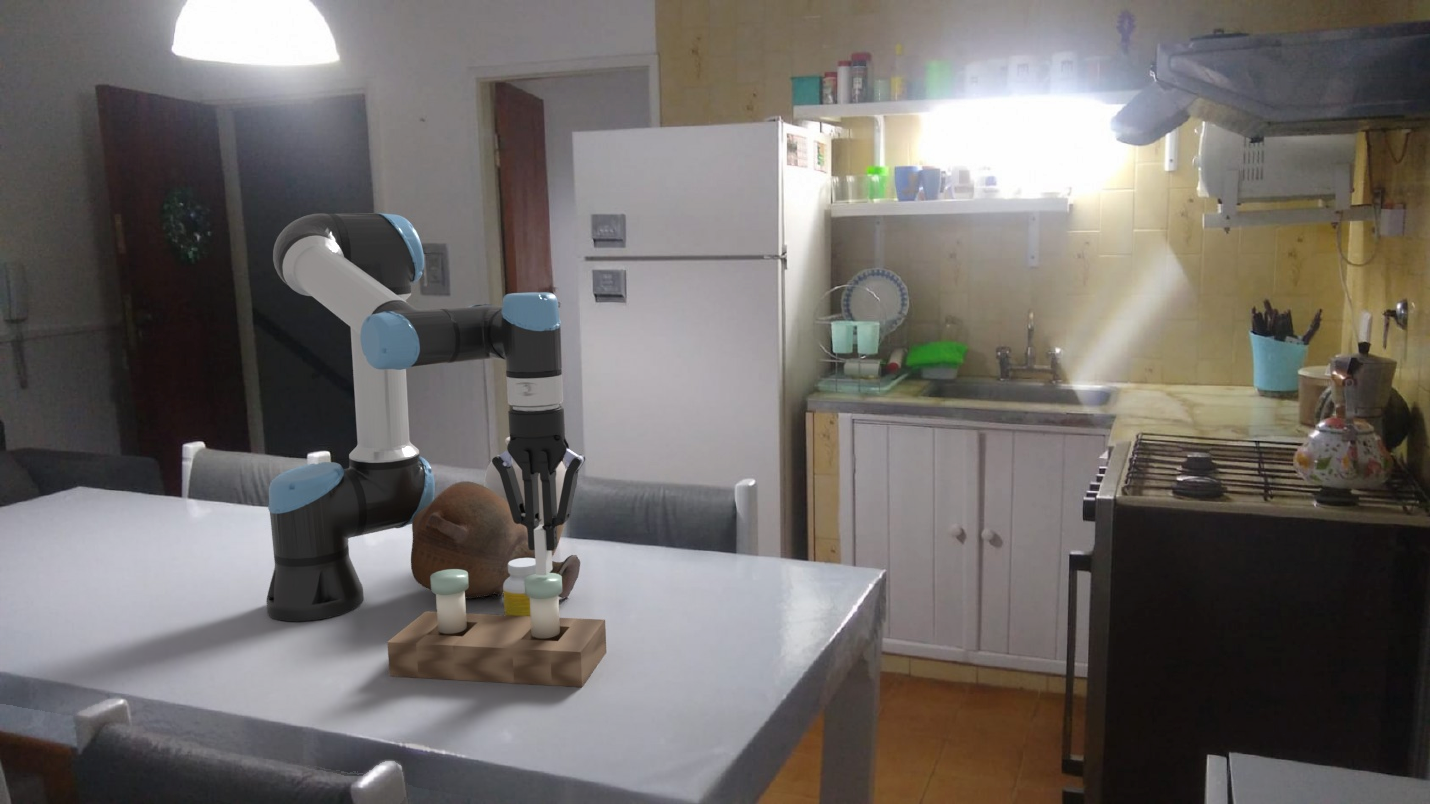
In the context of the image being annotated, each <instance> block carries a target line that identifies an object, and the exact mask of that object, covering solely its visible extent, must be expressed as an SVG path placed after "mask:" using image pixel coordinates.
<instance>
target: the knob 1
mask: <svg viewBox="0 0 1430 804" xmlns="http://www.w3.org/2000/svg"><path fill="white" fill-rule="evenodd" d="M430 579H431V590H430V591H431V592H432V594H435V601H436V602H435V603H436V612H437V620H438V631H439V632H441V633H445V634H452V633H458V632H461V631H464V630H465V629H466V628H467V622H466V613H467V610H466V598H465V590H467V589H468V588H469V583H468V572H467V571H465V570H460V569H449V570H442V571H438V572H435V573H433V574H432V575H431V576H430Z"/></svg>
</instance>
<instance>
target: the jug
mask: <svg viewBox="0 0 1430 804" xmlns="http://www.w3.org/2000/svg"><path fill="white" fill-rule="evenodd" d="M411 531H412V542H411V543H412V544H411V552H410V553H411V554H410V567H411V573H412V577H413V578H414V580H415V581H416V583H418V584H419V586H422V587H423V588H425V589H427V590H429V591H431V579H430V576H431V575H432V574H433V573H435V572H438V571H442V570H449V569H460V570H465V571H467V572H468V583H469V588H468V589H467V590H465V599H474V598H482V597H486V596H487V597H488V596H492V595H497V596H499V597H500V596H502V595H504V593H503V584H504V582H505V580H506V579H507V578H509V577H510V574H509V573H508V563H509V562H510V561H512V560H514V559H519V558H534V559H535V551H534V550H530V549H529V547H528V533H527V529H526V526H524V525H522V524H516V523H514V521H513V518H512V514H511V511H510V507H509V504H508V502H507V501H506V500H504V499H503V498H502V497H500V496H499V495H498V494H496V493H495V492H493V491H492V490H490V489H488V488H486V487H485V486H484V485H482V484H480V483H477V482H473V481H467V480H466V481H464V480H463V481H458V482H455V483H453V484H451V485H449V486H448V487H447V488H445V489H444V490H443V491H442V492H440V493H439V494H438V495H437V496H435V497H434V500H433V502H431V503H430V504H429V505H428V506H427V507H425V508H424V509H422V510H421V511H420V512H418V513H417V514H416V515H415V517H414V519H413V522H412V524H411ZM580 568H581V560H580V558H579V557H578V555H577V554H574V555H573V554H571V555H569V556H567V558H565V559H564V560H563V561H560V562H559V561H554V560H552V570H551V571H550V572H549V573H556V574H559V575H561V576H562V593H561V594H560V595H558V598H561V599H567V598H568V597H569V596H570V594H571V592H572V590H573V589H574V587H575V584H576V582H577V580H578V578H579V574H580Z"/></svg>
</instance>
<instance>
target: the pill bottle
mask: <svg viewBox="0 0 1430 804" xmlns="http://www.w3.org/2000/svg"><path fill="white" fill-rule="evenodd" d="M508 573H509V574H510V577H509V578H507V579H506V580H505V582H504V584H503V606H504V607H503V608H504V610H503V611H504V615H513V616H530V597H527V596H526V595H525V584H524V579H525V578H526V577H528V576H530V575H533V574H536V563H535V559H534V558H519V559H514V560H512V561H510V562H509V563H508Z"/></svg>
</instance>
